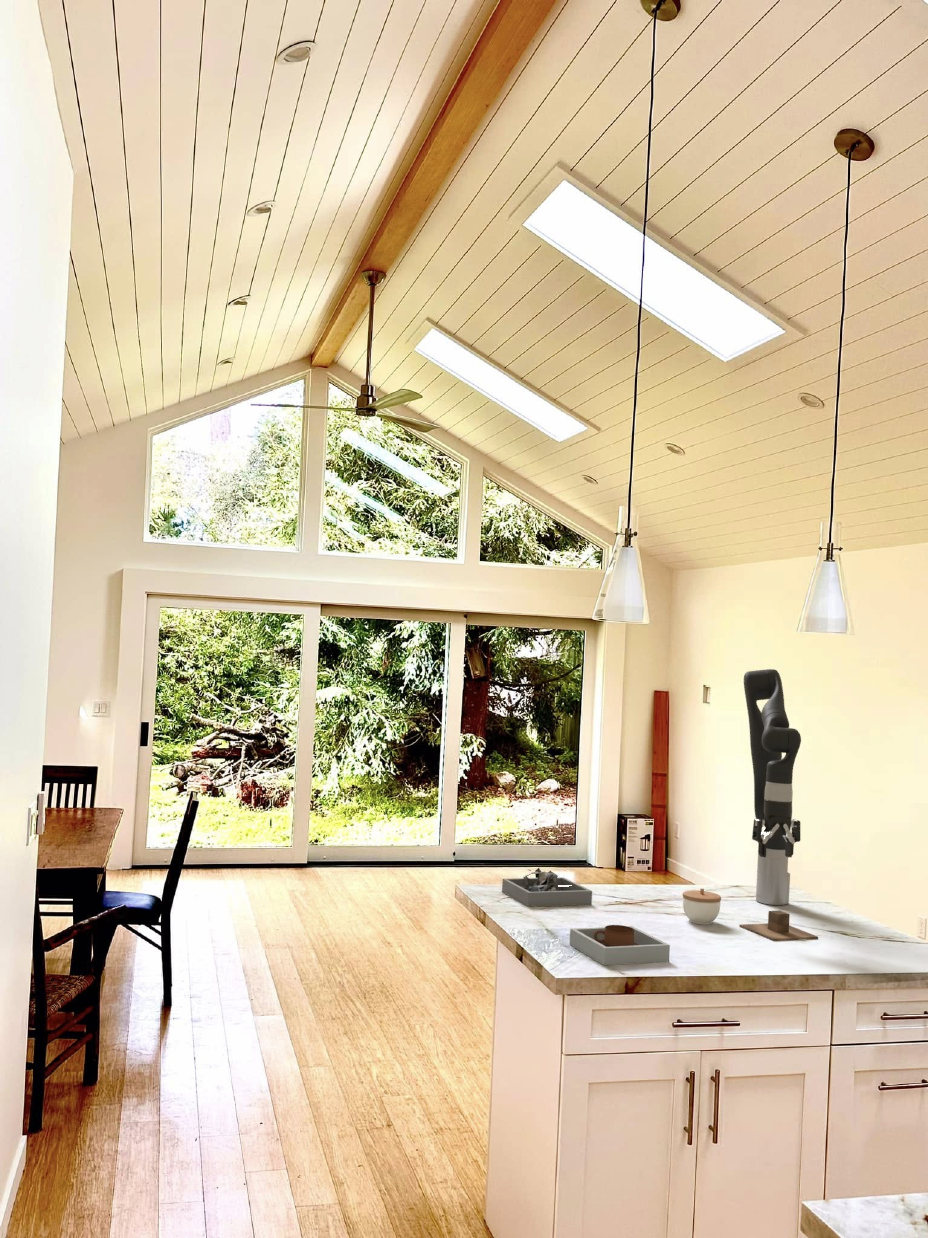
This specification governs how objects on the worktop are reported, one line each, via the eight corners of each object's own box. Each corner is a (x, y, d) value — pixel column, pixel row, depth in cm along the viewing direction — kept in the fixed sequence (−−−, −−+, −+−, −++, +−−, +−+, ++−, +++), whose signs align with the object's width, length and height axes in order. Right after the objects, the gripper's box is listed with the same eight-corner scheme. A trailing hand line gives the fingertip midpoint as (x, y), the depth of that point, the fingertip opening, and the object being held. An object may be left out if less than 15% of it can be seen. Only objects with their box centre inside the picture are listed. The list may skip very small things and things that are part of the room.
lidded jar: (673, 920, 298) (675, 886, 298) (696, 915, 305) (698, 883, 305) (704, 928, 290) (706, 894, 290) (727, 924, 297) (729, 891, 297)
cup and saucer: (603, 960, 252) (604, 935, 252) (587, 947, 264) (589, 922, 264) (650, 960, 255) (651, 935, 255) (632, 947, 266) (633, 922, 267)
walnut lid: (782, 927, 300) (783, 905, 300) (818, 941, 286) (819, 918, 286) (739, 929, 294) (740, 906, 294) (772, 943, 280) (774, 920, 280)
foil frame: (562, 890, 329) (563, 877, 329) (591, 904, 311) (592, 891, 311) (501, 891, 321) (502, 878, 321) (527, 906, 303) (528, 892, 304)
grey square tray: (631, 941, 271) (632, 926, 271) (669, 961, 254) (669, 945, 254) (569, 944, 264) (570, 928, 264) (603, 965, 248) (604, 948, 248)
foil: (506, 885, 316) (539, 855, 324) (521, 914, 319) (553, 883, 327) (530, 891, 307) (564, 860, 315) (545, 921, 309) (578, 889, 317)
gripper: (791, 797, 298) (788, 854, 297) (748, 796, 294) (745, 854, 293) (808, 801, 291) (805, 859, 290) (764, 800, 286) (761, 859, 286)
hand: (775, 857), depth 291 cm, fingers open, 8 cm apart
